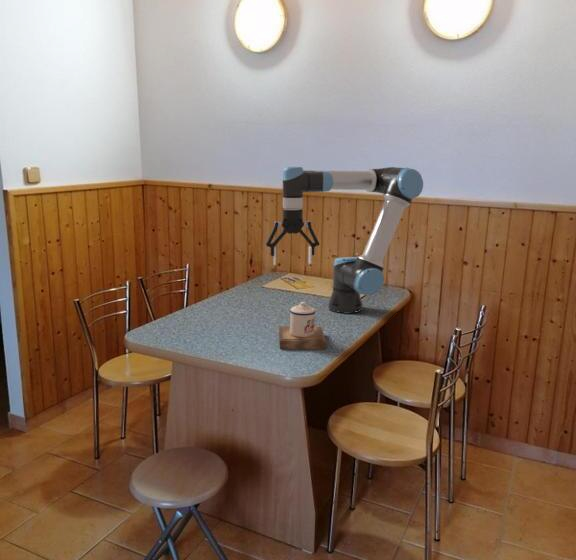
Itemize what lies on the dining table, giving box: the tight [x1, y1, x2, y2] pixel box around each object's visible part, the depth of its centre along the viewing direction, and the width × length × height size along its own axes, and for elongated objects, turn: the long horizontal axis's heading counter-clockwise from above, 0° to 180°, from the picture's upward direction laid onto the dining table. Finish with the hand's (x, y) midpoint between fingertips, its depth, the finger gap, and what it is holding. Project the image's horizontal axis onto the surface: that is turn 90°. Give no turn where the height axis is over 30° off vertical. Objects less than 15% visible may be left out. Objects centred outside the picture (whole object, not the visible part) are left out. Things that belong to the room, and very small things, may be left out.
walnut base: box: [278, 325, 327, 350], centre depth 198 cm, size 16×16×3 cm
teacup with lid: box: [289, 301, 316, 337], centre depth 197 cm, size 12×9×12 cm
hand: (292, 264), depth 211 cm, fingers open, 13 cm apart
